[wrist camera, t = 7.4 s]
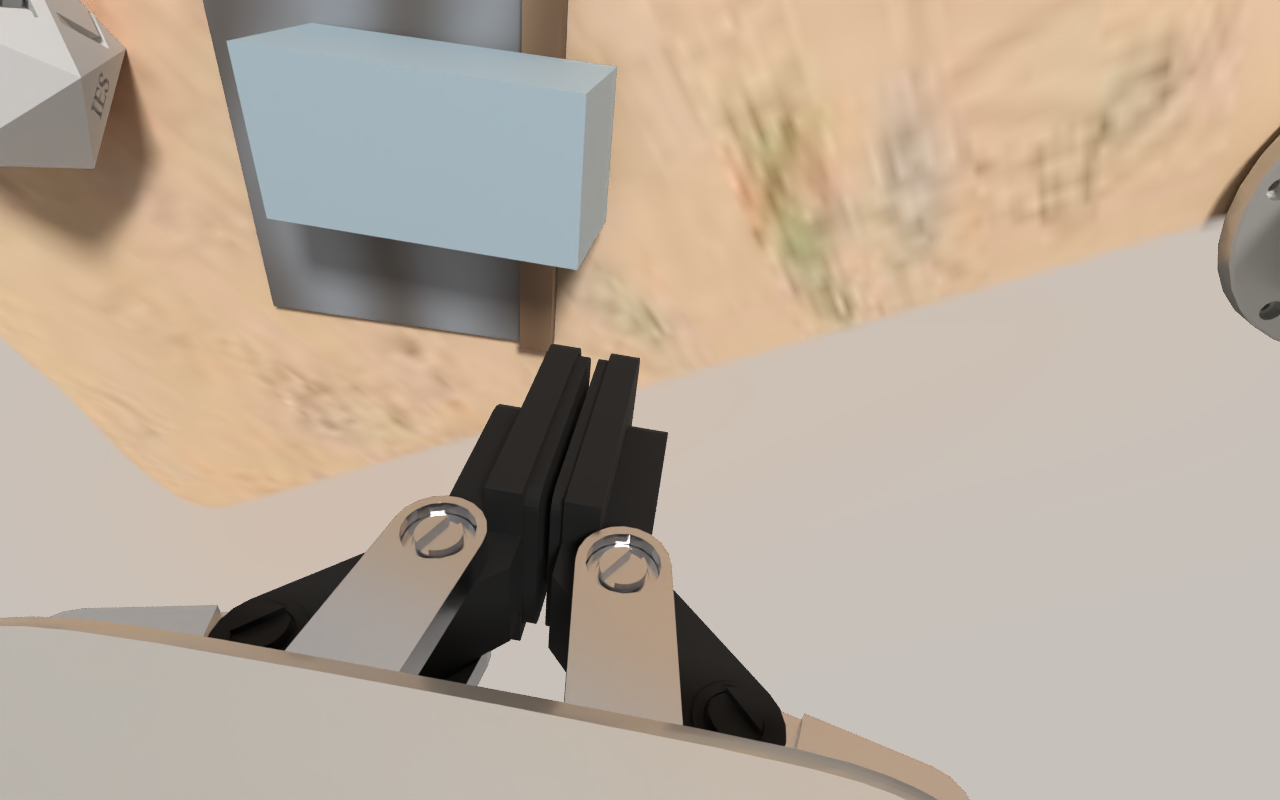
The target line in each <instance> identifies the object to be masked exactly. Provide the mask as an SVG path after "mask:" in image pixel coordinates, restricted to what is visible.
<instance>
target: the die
mask: <svg viewBox="0 0 1280 800" xmlns="http://www.w3.org/2000/svg"><path fill="white" fill-rule="evenodd" d="M125 51H126V48H125V47H124V46H123V45H122V44H121V43H120V42H119V41H118V40H117V39H116V38H115V37H114V36H113V35H112V33H111V32H110V31H109V30H108V29H107V28H106V27H105V26H104V25H103V24H102V23H101V22H100V21H99V20H98V19H97V18H96V17H95V16H94V15H93V14H92V13H91V12H89V11H88V10H87V8H86V6H85V5H84V4H83V3H82V2H81V1H80V0H0V166H3V167H42V168H81V169H95V165H96V161H97V157H98V154H99V150H100V146H101V142H102V138H103V134H104V131H105V127H106V123H107V119H108V115H109V112H110V108H111V104H112V100H113V96H114V93H115V89H116V85H117V81H118V77H119V73H120V70H121V66H122V62H123V58H124V54H125Z"/></svg>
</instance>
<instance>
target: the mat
mask: <svg viewBox="0 0 1280 800" xmlns="http://www.w3.org/2000/svg"><path fill="white" fill-rule="evenodd" d="M203 3H204V8H205V12H206V16H207V20H208V25H209V29H210V33H211V38H212V42H213V46H214V51H215V55H216V59H217V63H218V68H219V72H220V76H221V81H222V85H223V89H224V94H225V98H226V102H227V107H228V111H229V115H230V119H231V124H232V128H233V132H234V137H235V141H236V145H237V150H238V154H239V158H240V162H241V167H242V171H243V175H244V180H245V184H246V188H247V193H248V197H249V201H250V205H251V210H252V214H253V218H254V223H255V227H256V231H257V236H258V240H259V244H260V248H261V253H262V257H263V261H264V266H265V270H266V274H267V279H268V283H269V287H270V292H271V296H272V300H273V304H274V306H279V307H286V308H293V309H300V310H307V311H314V312H321V313H328V314H335V315H342V316H348V317H355V318H362V319H369V320H376V321H383V322H390V323H397V324H404V325H411V326H418V327H425V328H432V329H439V330H446V331H453V332H460V333H467V334H474V335H481V336H488V337H495V338H502V339H509V340H516V341H520V348H525V349H532V350H539V351H546V352H547V351H548V349H549V347H550V345H551V344H553V343H554V331H555V307H556V283H557V267H555V266H549V265H543V264H537V263H531V262H525V261H519V260H513V259H507V258H501V257H495V256H489V255H483V254H477V253H471V252H465V251H459V250H453V249H447V248H441V247H435V246H429V245H423V244H417V243H411V242H406V241H400V240H394V239H388V238H382V237H376V236H370V235H364V234H358V233H352V232H346V231H340V230H334V229H328V228H322V227H316V226H310V225H304V224H298V223H292V222H286V221H280V220H274V219H268V218H267V217H266V212H265V208H264V203H263V199H262V195H261V190H260V186H259V182H258V177H257V173H256V168H255V164H254V160H253V155H252V151H251V147H250V142H249V138H248V133H247V129H246V125H245V120H244V116H243V112H242V107H241V103H240V98H239V94H238V90H237V85H236V81H235V77H234V72H233V68H232V63H231V59H230V55H229V50H228V46H227V42H226V41H228V40H233V39H238V38H242V37H247V36H252V35H256V34H261V33H266V32H271V31H275V30H280V29H285V28H289V27H294V26H299V25H304V24H308V23H317V24H324V25H331V26H338V27H345V28H351V29H358V30H365V31H372V32H379V33H386V34H393V35H400V36H407V37H414V38H421V39H428V40H435V41H442V42H449V43H456V44H463V45H470V46H477V47H484V48H491V49H498V50H505V51H512V52H519V53H526V54H533V55H540V56H547V57H554V58H561V59H566V39H567V14H568V0H203Z"/></svg>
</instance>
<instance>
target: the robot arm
mask: <svg viewBox="0 0 1280 800" xmlns="http://www.w3.org/2000/svg"><path fill="white" fill-rule="evenodd" d="M1218 273H1219V277H1220V281H1221V285H1222V288H1223V292H1224V293H1225V295H1226V297H1227V298H1228V300H1229V302H1230V303H1231V305H1232V306H1233V308H1234V309H1235V311H1237V312H1238V313H1239V314H1240V315H1241V316H1242V317H1243V318H1245V319H1246V320H1247V321H1248V322H1249V323H1250V324H1251V325H1253V326H1254V327H1255V328H1257V329H1259V330H1260V331H1262V332H1263V333H1265V334H1266V335H1268V336H1269V337H1271V338H1272V339H1274V340H1277V341H1280V135H1279V136H1278V137H1277V138H1276V139H1275V141H1274V142H1273V143H1272V144H1271V145H1270V146H1269V147H1268V148H1267V149H1266V150H1265V152H1264V153H1263V154H1262V155H1261V156H1260V158H1259V159H1258V161H1257V162H1256V164H1255V165H1254V166H1253V168H1252V169H1251V171H1250V172H1249V174H1248V175H1247V177H1246V178H1245V180H1244V181H1243V183H1242V184H1241V185H1240V187H1239V189H1238V191H1237V193H1236V196H1235V198H1234V200H1233V202H1232V204H1231V206H1230V208H1229V210H1228V212H1227V214H1226V217H1225V221H1224V224H1223V228H1222V232H1221V236H1220V240H1219V243H1218ZM639 365H640V358H636V357H630V356H624V355H618V354H611V356H610V358H609V361H607V360H601V359H599V360H598V363H597V366H596V369H595V372H594V374H593V377H592V380H591V383H590V386H589V379H590V367H591V358H589V357H583V356H581V349H580V348H575V347H569V346H563V345H557V344H551V345H550V347H549V349H548V351H547V353H546V356H545V358H544V360H543V362H542V364H541V366H540V369H539V371H538V373H537V375H536V377H535V379H534V381H533V384H532V386H531V388H530V390H529V392H528V394H527V397H526V399H525V401H524V403H523V405H522V407H521V408H520V407H514V406H508V405H502V404H499V405H497V406H496V407H495V409H494V410H493V412H492V414H491V416H490V418H489V420H488V422H487V424H486V426H485V428H484V430H483V432H482V434H481V435H480V437H479V439H478V441H477V443H476V445H475V447H474V449H473V451H472V453H471V455H470V457H469V459H468V461H467V463H466V465H465V466H464V469H463V470H462V472H461V474H460V476H459V478H458V480H457V482H456V484H455V486H454V488H453V490H452V492H451V494H450V495H449V496H433V497H429V498H425V499H422V500H419V501H416V502H414V503H413V504H411V505H409V506H407V507H405V508H404V509H403V510H402V511H401V512H400V513H399V514H398V515H397V516H395V518H394V519H393V520H392V522H390V524H389V525H388V526H387V527H386V529H385V530H384V531H383V532H382V533H381V535H380V536H379V537H378V538H377V539H376V541H375V542H374V543H373V544H372V546H371V547H370V548H369V549H368V550H367V552H365V553H363V554H360V555H358V556H355V557H353V558H350V559H348V560H346V561H343V562H341V563H339V564H336V565H333V566H331V567H329V568H326V569H324V570H321V571H319V572H316V573H314V574H311V575H309V576H307V577H304V578H302V579H299V580H297V581H294V582H292V583H289V584H287V585H284V586H282V587H279V588H277V589H274V590H272V591H270V592H267V593H265V594H262V595H260V596H257V597H255V598H252V599H250V600H248V601H246V602H244V603H242V604H241V605H239V606H237V607H235V608H233V609H232V610H231V611H230V612H220V610H219V608H218V606H217V605H212V606H211V605H209V606H169V607H168V606H167V607H166V606H165V607H123V608H84V609H76V610H70V611H64V612H61V613H58V614H56V615H53V616H51V617H15V618H14V617H12V618H0V800H969V798H968V796H967V794H966V793H965V792H964V791H963V790H962V789H961V787H960V786H959V785H957V783H956V782H955V781H954V780H953V779H952V778H951V777H949V776H948V775H946V774H944V773H943V772H941V771H939V770H938V769H936V768H934V767H933V766H930V765H928V764H925V763H923V762H921V761H918V760H916V759H913V758H911V757H909V756H906V755H904V754H901V753H899V752H897V751H894V750H892V749H889V748H886V747H884V746H882V745H880V744H877V743H875V742H872V741H870V740H868V739H865V738H863V737H860V736H858V735H855V734H853V733H850V732H848V731H846V730H843V729H841V728H838V727H836V726H834V725H831V724H829V723H826V722H824V721H822V720H819V719H817V718H814V717H812V716H809V715H807V714H804V715H803V717H802V719H798V718H796V717H793V716H791V715H789V714H786V713H784V712H782V711H781V710H780V708H779V707H778V705H777V704H776V703H775V701H774V700H773V698H772V697H771V695H770V694H769V693H768V692H767V691H766V690H765V689H764V688H763V687H762V686H761V684H760V683H759V682H758V681H757V680H756V679H755V678H754V677H753V676H752V675H751V673H750V672H749V671H748V670H747V669H746V668H745V667H744V666H743V665H742V664H741V663H740V662H739V660H738V659H737V658H736V657H735V656H734V655H733V654H732V653H731V652H730V651H729V650H728V649H727V647H726V646H725V645H724V644H723V643H722V642H721V641H720V640H719V639H718V638H717V637H716V635H715V634H714V633H713V632H712V631H711V630H710V629H709V628H708V627H707V626H706V625H705V624H704V622H703V621H702V620H701V619H700V618H699V617H698V616H697V615H696V614H695V613H694V612H693V610H692V609H691V608H690V607H689V606H688V605H687V604H686V603H685V602H684V601H683V600H682V599H681V598H680V596H679V595H678V594H677V593H676V592H675V591H674V590H673V581H672V580H673V579H672V565H671V561H670V557H669V554H668V552H667V551H666V549H665V548H664V546H663V545H662V543H661V542H659V541H658V540H657V539H655V538H654V537H653V536H652V531H653V525H654V518H655V512H656V506H657V499H658V493H659V487H660V480H661V473H662V468H663V461H664V455H665V449H666V442H667V435H668V433H667V432H662V431H656V430H650V429H644V428H638V427H632V419H633V410H634V403H635V396H636V388H637V380H638V373H639ZM546 592H547V598H546V623H545V624H546V626H550V627H549V628H550V629H549V649H550V650H551V652H552V653H553V654H554V656H555V657H556V659H557V660H558V662H559V663H560V664H561V666H562V667H563V669H564V670H565V672H566V682H565V695H564V703H563V702H558V701H553V700H548V699H542V698H537V697H531V696H526V695H521V694H515V693H510V692H504V691H499V690H494V689H488V688H483V687H478V686H477V685H478V684H479V682H480V680H481V678H482V676H483V674H484V672H485V670H486V668H487V666H488V663H489V660H490V657H491V651H492V650H493V649H495V648H497V647H499V646H501V645H503V644H505V643H506V642H508V641H510V639H513V640H519V641H520V640H521V637H522V633H523V630H524V627H525V624H526V622H529V623H535V624H536V623H537V621H538V619H539V616H540V612H541V609H542V606H543V602H544V599H545V596H546Z"/></svg>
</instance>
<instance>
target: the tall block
mask: <svg viewBox="0 0 1280 800" xmlns="http://www.w3.org/2000/svg"><path fill="white" fill-rule="evenodd" d="M226 42H227V46H228V50H229V55H230V59H231V63H232V68H233V72H234V77H235V81H236V85H237V90H238V94H239V98H240V103H241V107H242V112H243V116H244V120H245V125H246V129H247V133H248V138H249V142H250V147H251V151H252V155H253V160H254V164H255V168H256V173H257V177H258V182H259V186H260V190H261V195H262V199H263V203H264V208H265V212H266V217H267V218H268V219H274V220H280V221H286V222H292V223H298V224H304V225H310V226H316V227H322V228H328V229H334V230H340V231H346V232H352V233H358V234H364V235H370V236H376V237H382V238H388V239H394V240H400V241H406V242H411V243H417V244H423V245H429V246H435V247H441V248H447V249H453V250H459V251H465V252H471V253H477V254H483V255H489V256H495V257H501V258H507V259H513V260H519V261H525V262H531V263H537V264H543V265H549V266H555V267H561V268H567V269H573V270H578V268H579V267H580V265H581V263H582V262H583V260H584V258H585V256H586V255H587V253H588V251H589V249H590V248H591V246H592V244H593V243H594V241H595V239H596V237H597V236H598V234H599V232H600V230H601V229H602V227H603V225H604V224H605V222H606V210H607V197H608V183H609V170H610V156H611V143H612V129H613V116H614V102H615V89H616V75H617V66H610V65H603V64H596V63H589V62H582V61H575V60H568V59H561V58H554V57H547V56H540V55H533V54H526V53H519V52H512V51H505V50H498V49H491V48H484V47H477V46H470V45H463V44H456V43H449V42H442V41H435V40H428V39H421V38H414V37H407V36H400V35H393V34H386V33H379V32H372V31H365V30H358V29H351V28H345V27H338V26H331V25H324V24H317V23H308V24H304V25H299V26H294V27H289V28H285V29H280V30H275V31H271V32H266V33H261V34H256V35H252V36H247V37H242V38H238V39H233V40H228V41H226Z"/></svg>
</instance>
